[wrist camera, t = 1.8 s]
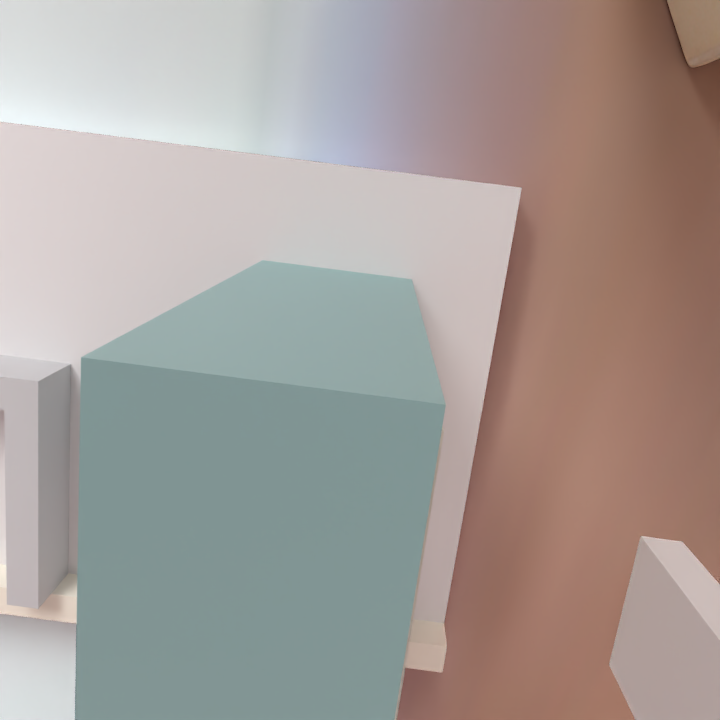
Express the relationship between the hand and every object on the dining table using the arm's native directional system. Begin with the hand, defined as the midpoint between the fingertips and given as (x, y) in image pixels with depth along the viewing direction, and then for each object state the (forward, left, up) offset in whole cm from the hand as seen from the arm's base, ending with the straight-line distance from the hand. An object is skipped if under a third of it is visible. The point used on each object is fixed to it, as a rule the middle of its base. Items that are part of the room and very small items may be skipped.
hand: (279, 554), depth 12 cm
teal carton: (0, 0, -9) cm, 9 cm away
